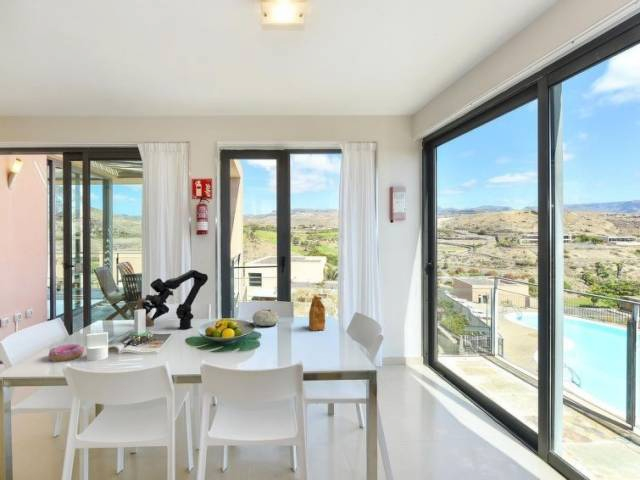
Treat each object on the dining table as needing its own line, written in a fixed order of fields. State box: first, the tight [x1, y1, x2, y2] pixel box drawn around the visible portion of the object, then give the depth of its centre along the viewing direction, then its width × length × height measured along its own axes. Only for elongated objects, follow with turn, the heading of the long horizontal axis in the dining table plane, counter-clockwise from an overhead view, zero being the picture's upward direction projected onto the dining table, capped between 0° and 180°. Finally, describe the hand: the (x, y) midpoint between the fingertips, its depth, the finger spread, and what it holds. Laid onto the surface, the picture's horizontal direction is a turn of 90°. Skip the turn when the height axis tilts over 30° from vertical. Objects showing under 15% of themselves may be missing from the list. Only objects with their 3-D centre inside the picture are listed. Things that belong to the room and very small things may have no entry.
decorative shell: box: [252, 308, 280, 327], centre depth 243 cm, size 18×18×10 cm
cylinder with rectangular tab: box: [86, 331, 109, 362], centre depth 178 cm, size 9×9×12 cm
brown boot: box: [137, 297, 155, 327], centre depth 239 cm, size 9×4×18 cm, turn 92°
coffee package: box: [308, 294, 326, 332], centre depth 234 cm, size 10×12×22 cm
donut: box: [48, 343, 85, 362], centre depth 178 cm, size 14×14×5 cm
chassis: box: [129, 334, 157, 345], centre depth 204 cm, size 12×12×4 cm
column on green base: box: [128, 309, 152, 337], centre depth 204 cm, size 8×8×14 cm
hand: (146, 319), depth 207 cm, fingers open, 9 cm apart
